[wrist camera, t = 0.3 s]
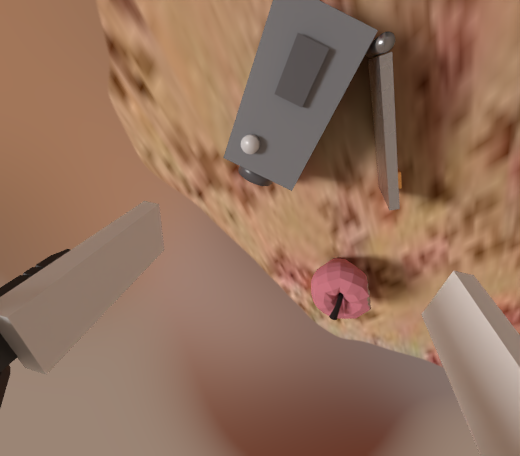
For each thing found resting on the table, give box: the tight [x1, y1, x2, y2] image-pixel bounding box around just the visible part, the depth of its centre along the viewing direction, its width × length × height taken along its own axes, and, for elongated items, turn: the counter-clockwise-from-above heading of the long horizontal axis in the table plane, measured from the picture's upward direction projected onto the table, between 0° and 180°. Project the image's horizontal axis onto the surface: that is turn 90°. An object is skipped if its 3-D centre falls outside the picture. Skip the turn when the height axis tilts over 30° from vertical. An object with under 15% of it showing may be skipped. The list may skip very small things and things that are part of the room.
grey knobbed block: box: [224, 0, 378, 191], centre depth 28 cm, size 18×9×8 cm, turn 157°
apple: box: [311, 258, 371, 320], centre depth 38 cm, size 10×9×10 cm
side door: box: [366, 32, 402, 210], centre depth 26 cm, size 16×2×7 cm, turn 17°
